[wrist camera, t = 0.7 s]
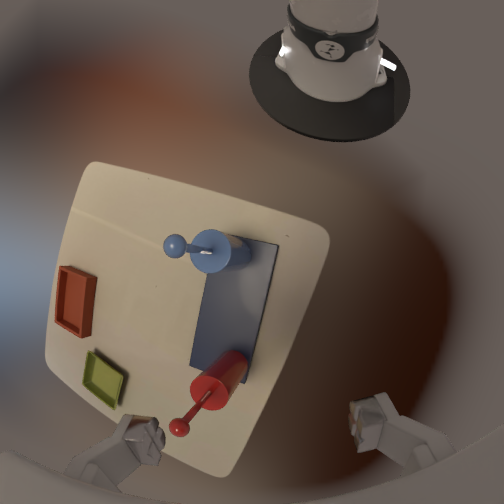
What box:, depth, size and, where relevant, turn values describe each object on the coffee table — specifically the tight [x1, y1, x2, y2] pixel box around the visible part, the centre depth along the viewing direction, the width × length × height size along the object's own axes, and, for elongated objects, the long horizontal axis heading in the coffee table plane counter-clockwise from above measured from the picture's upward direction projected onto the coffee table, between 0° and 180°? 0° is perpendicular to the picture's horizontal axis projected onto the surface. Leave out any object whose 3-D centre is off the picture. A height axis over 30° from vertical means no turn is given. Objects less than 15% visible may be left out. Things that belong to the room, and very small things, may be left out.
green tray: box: [82, 350, 123, 410], centre depth 41 cm, size 9×9×2 cm
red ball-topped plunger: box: [169, 350, 248, 437], centre depth 28 cm, size 4×4×18 cm
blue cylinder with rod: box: [163, 229, 251, 274], centre depth 28 cm, size 4×4×18 cm
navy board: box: [189, 234, 279, 384], centre depth 38 cm, size 20×9×1 cm, turn 167°
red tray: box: [55, 266, 97, 338], centre depth 43 cm, size 11×8×3 cm
